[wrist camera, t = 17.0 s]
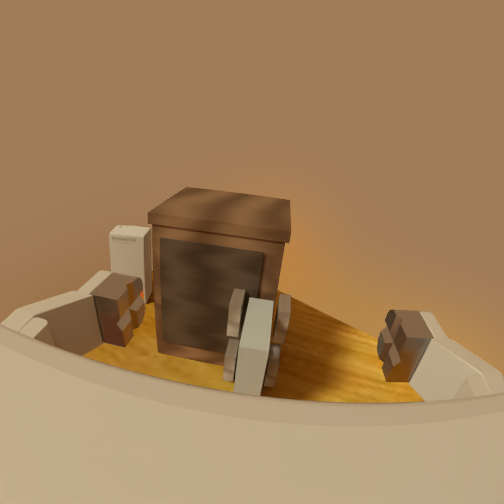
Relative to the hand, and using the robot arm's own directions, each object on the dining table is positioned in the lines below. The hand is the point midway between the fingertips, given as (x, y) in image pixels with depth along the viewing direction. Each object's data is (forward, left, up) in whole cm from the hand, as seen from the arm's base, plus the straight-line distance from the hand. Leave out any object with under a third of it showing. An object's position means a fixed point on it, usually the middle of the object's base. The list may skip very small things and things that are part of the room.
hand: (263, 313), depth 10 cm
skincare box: (+22, -33, -24) cm, 46 cm away
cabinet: (+5, -26, -23) cm, 35 cm away
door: (0, -16, -23) cm, 28 cm away
